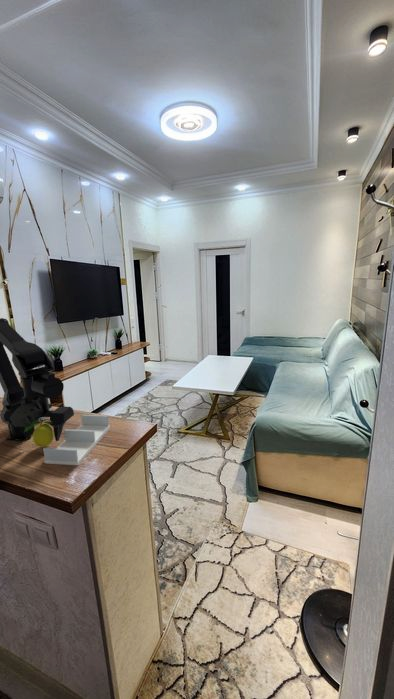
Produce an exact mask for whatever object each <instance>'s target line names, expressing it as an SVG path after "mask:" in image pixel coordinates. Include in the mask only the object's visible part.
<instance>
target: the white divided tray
mask: <svg viewBox="0 0 394 699" xmlns="http://www.w3.org/2000/svg"><path fill="white" fill-rule="evenodd" d="M80 418H81V424H80V426H78V427H77V428H75V429H66V428H65V429H63V432H64V438H65V439H64V441H63V442H61V443H60V444H59V445H58V446H57V447H45V448H44V447H43V456H44V459H43V460H44V461H43V462H44V464H49V465H50V464H53V465H66V466H80V464H81V463H82V462H83V461H84V460H85V459H86V457H87V456H88V455H89V454H90V453H91V451H92V450H93V449H94V448H95V446H96V445H97V444H98V443H99V442H100V441H101V439H103V437H104V436H105V435H106V434H107V432H108V431H110V429H111V424H110V421H109V415H102V414H101V415H100V414H81V415H80Z"/></svg>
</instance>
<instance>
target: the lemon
mask: <svg viewBox="0 0 394 699" xmlns="http://www.w3.org/2000/svg"><path fill="white" fill-rule="evenodd" d="M39 422H40V424H38V425H37V423H38V421H37V422H32V425H31V426H29V427H26V428H25V431H24V432H26V431H28V430H29V429H30V428H32V427H33V426H34V429H35V430H34V432H33V434H32V441H33V443H34V444H35V446H36V447H40V448H41V447H43V448H48V446H49V445H50V444H52V442H53V441H54V438H55V435H54V429H53V427H52V426H51V425H50V424H51V423H52V422H51V421H50V420H48V421H41V417H40V420H39ZM36 425H37V426H36ZM35 426H36V427H35Z"/></svg>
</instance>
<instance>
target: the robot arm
mask: <svg viewBox="0 0 394 699" xmlns="http://www.w3.org/2000/svg"><path fill="white" fill-rule="evenodd" d="M5 348H6V349H7V350H8V351H9V352H10V353H11V355H12V356H11V357H12V358H11V361H10V357H9V356H8V354H7V351H6V349H5ZM12 364H13V365H12ZM13 366H14V367H13ZM14 368H15V369H16V370H17V372H18V375H17V374H16V372H15V370H14ZM52 371H55V368H54V367H53V362H52V361H51V360H50V358H49V356H48V355H47V353H46V352H45V351H44V350H43V348H41V347H40V346H39V345H37V344H36V343H33V342H30V341H27V340H25V339H24V338H23V336H22V335H20V334H19V332H18V331H16V330H15V329H14V327H12V326H11V324H10V323H9V320H8V319H7V318H3V317H1V318H0V385H1V387H2V390H3V399H2V401H1V403H2V409H1V412H0V420H1V422H2V423H4V424H6V425H8V426H7V427H8V432H9V435H8V436H7V437H6V440H7V441H8V440H9V441H10V440H11V441H26V440H27V441H29V440H31V439H32V436H33V432H34V430H35V425H34V426H33V427H32V428H30V429H29V430H28V431H26V432H24V431H25V428H26V427H29V426H31V425H32V422H37V421H38V420H39V418H40V417H50V418H49V421H50V422H52V423H51V424H50V425H49V426H50V427H51V428H52V430H53V434H54V439H55V442H58V441H60V438H61V436H62V432H63V431H64V426H65V424H66V423H67V421H69V419H71V418H72V417H74V416H75V412H74V408H73V407H72V406H58V407H57V408H56V409H54V410H52V408H53V404H52V403H50V404H49V403H48V398H49V399H50V400H53V399H56V398H58V397H60V396H61V394H62V393H63V391H64V387H65V386H64V382H63V381H62V379H60V378H58V377H56V374H55V372H52ZM17 376H20V377H21V378H20V379H21V383H20V381H19V379H18V377H17ZM21 384H22V385H21ZM50 408H51V410H50Z"/></svg>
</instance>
